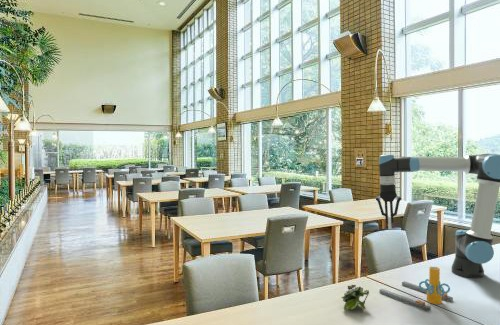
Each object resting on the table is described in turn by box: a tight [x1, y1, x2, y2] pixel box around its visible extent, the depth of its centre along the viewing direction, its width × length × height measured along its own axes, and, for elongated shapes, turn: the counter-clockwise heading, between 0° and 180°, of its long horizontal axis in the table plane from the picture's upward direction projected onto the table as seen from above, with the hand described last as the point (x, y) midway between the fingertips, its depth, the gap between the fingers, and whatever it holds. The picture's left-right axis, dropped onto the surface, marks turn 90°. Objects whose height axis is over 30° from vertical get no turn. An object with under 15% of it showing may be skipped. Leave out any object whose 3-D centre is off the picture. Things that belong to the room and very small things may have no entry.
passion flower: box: [341, 284, 370, 311], centre depth 157 cm, size 11×11×12 cm
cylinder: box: [418, 266, 451, 305], centre depth 162 cm, size 12×10×15 cm
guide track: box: [379, 280, 454, 312], centre depth 168 cm, size 24×19×2 cm
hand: (389, 228), depth 195 cm, fingers closed
